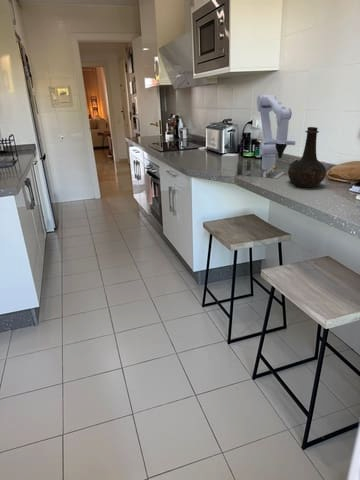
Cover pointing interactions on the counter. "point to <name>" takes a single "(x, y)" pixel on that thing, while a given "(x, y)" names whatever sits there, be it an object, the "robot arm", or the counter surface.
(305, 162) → the glass bottle
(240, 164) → the post left
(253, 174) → the panel
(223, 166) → the supplement box
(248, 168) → the post right
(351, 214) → the counter surface
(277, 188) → the counter surface
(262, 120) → the robot arm
